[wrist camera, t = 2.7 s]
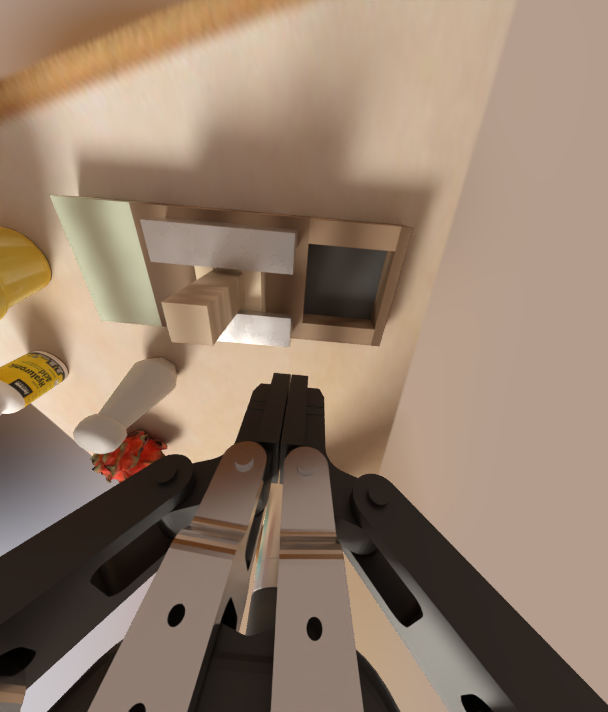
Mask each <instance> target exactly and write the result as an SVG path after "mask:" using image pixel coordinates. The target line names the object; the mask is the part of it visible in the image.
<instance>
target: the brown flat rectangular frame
mask: <svg viewBox="0 0 608 712" xmlns="http://www.w3.org/2000/svg"><path fill="white" fill-rule="evenodd" d="M50 198H51V200H52V202H53V205H54V207H55V210H56V212H57V215H58V217H59V219H60V222H61V224H62V227H63V229H64V231H65V234H66V236H67V239H68V241H69V244H70V246H71V248H72V251H73V253H74V256H75V258H76V260H77V263H78V265H79V268H80V270H81V273H82V275H83V277H84V280H85V282H86V285H87V287H88V289H89V292H90V294H91V297H92V299H93V301H94V304H95V306H96V309H97V311H98V314H99V316H100V318H101V321H109V322H120V323H131V324H142V325H153V326H164V327H167V323H166V320H165V316H164V312H163V308H162V303H161V302H162V301H164V300H165V299H167V298H169V297H170V296H172V295H173V294H175V293H177V292H178V291H180V290H181V289H183V288H185V287H186V286H188V285H189V284H191V283H193V282H194V281H196V273H195V267H194V266H192V265H181V264H170V263H159V262H151V261H150V257H149V253H148V249H147V245H146V242H145V238H144V234H143V230H142V226H141V222H140V219H151V218H162V217H168V218H179V219H190V220H201V221H212V222H223V223H235V224H246V225H257V226H268V227H279V228H290V229H298V244H297V249H296V251H295V262H294V273H293V275H291V274H280V273H269V272H266V312H270V313H280V314H291V315H292V319H293V332H292V337H291V338H295V339H306V340H317V341H328V342H339V343H350V344H360V345H371V346H380V342H381V339H382V335H383V332H384V328H385V325H386V321H387V318H388V314H389V311H390V307H391V303H392V300H393V296H394V293H395V289H396V286H397V282H398V279H399V275H400V272H401V268H402V265H403V261H404V258H405V254H406V251H407V247H408V244H409V240H410V237H411V233H412V230H413V228H411V227H407V226H404V225H394V224H383V223H372V222H360V221H349V220H338V219H327V218H316V217H305V216H294V215H282V214H271V213H260V212H249V211H238V210H227V209H216V208H204V207H193V206H182V205H171V204H160V203H149V202H138V201H127V200H115V199H104V198H93V197H82V196H57V195H50Z"/></svg>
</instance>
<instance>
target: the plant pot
mask: <svg viewBox="0 0 608 712" xmlns="http://www.w3.org/2000/svg"><path fill="white" fill-rule="evenodd" d="M50 280H51V270H50V267H49V264H48V261H47V260H46V258H45V256H44V255H43V253H42V252H41V251H40V249H39V248H38V247H37V246H36V245H35V244H34V243H33V242H32V241H30V240H29V239H28V238H27V237H25V236H24V235H22V234H20V233H19V232H17V231H15V230H12V229H9V228H5V227H0V320H1V319H2V318H3V317H4V316H5V314H6V312H7V310H8V308H10V307H11V306H13V305H15V304H16V303H18V302H20V301H21V300H23V299H25V298H27V297H28V296H30V295H32V294H34V293H35V292H37V291H39V290H41V289H42V288H44V287H45V286H47V285H48V283H49V282H50Z"/></svg>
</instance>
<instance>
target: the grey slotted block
mask: <svg viewBox="0 0 608 712" xmlns="http://www.w3.org/2000/svg"><path fill="white" fill-rule="evenodd" d="M140 222H141V226H142V230H143V234H144V238H145V242H146V245H147V249H148V253H149V257H150V261H151V262H159V263H170V264H181V265H192V266H203V267H214V268H225V269H236V270H247V271H258V272H269V273H280V274H291V275H293V273H294V262H295V251H296V249H297V244H298V229H290V228H279V227H268V226H257V225H246V224H235V223H223V222H212V221H201V220H190V219H179V218H168V217H162V218H151V219H140ZM162 308H163V307H162ZM163 312H164V311H163ZM164 316H165V314H164ZM165 320H166V318H165ZM166 323H167V322H166ZM167 327H168V326H167ZM168 331H169V330H168ZM292 332H293V319H292V315H291V314H280V313H270V312H259V311H248V310H239V312H238V313H237V314H236V316H235V317H234V318H233V320H232V321H231V322H230V324H229V325H228V326H227V328H226V329H225V330H224V332H223V333H222V334H221V336H220V337H219V338H218V340H217V341H225V342H236V343H247V344H258V345H269V346H279V347H290V342H291V337H292ZM169 335H170V334H169Z"/></svg>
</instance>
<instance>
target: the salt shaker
mask: <svg viewBox="0 0 608 712" xmlns="http://www.w3.org/2000/svg"><path fill="white" fill-rule="evenodd" d="M176 380H177V372H176V368H175V365H174V364H173V363H171V362H170V361H168V360H167V359H165V358H164V357H158V358H150V359H145V360H142V361H139V362H137V363H135V364H134V365H133V367H132V368H131V369H130V371H129V372H128V374H127V375H126V376H125V378H124V379H123V380H122V382H121V383H120V385H119V386H118V387H117V389H116V390H115V391H114V393H113V394H112V395H111V397H110V398H109V400H108V401H107V402H106V404H105V405H104V406H103V408H102V409H101V411H100V412H99V413H98V414H94V415H91V416H88V417H86V418H85V419H84V420H82V421H81V422H80V423H79V424H78V426H77V427H76V428H75V430H74V432H73V435H74V439H75V442H76V443H77V444H78V445H79V446H80V447H82V448H83V449H85V450H87V451H90V452H93V453H97V454H105V453H109V452H113V451H115V450H116V449H117V448H118V447H119V446H120V445H121V444H122V442H123V441H124V440H125V438H126V436H127V431H126V429H127V428H128V427H129V426H131V425H132V424H133V423H134V422H135V421H136V420H138V419H139V418H140V417H141V416H142V415H143V414H145V413H146V412H147V411H148V410H150V409H151V408H152V407H153V406H155V405H156V404H157V403H158V402H160V401H161V400H162V399H163V398H164V397H166V396H167V395H168V394H169V393H171V391H172V390H173V389H174V388H175V386H176Z"/></svg>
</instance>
